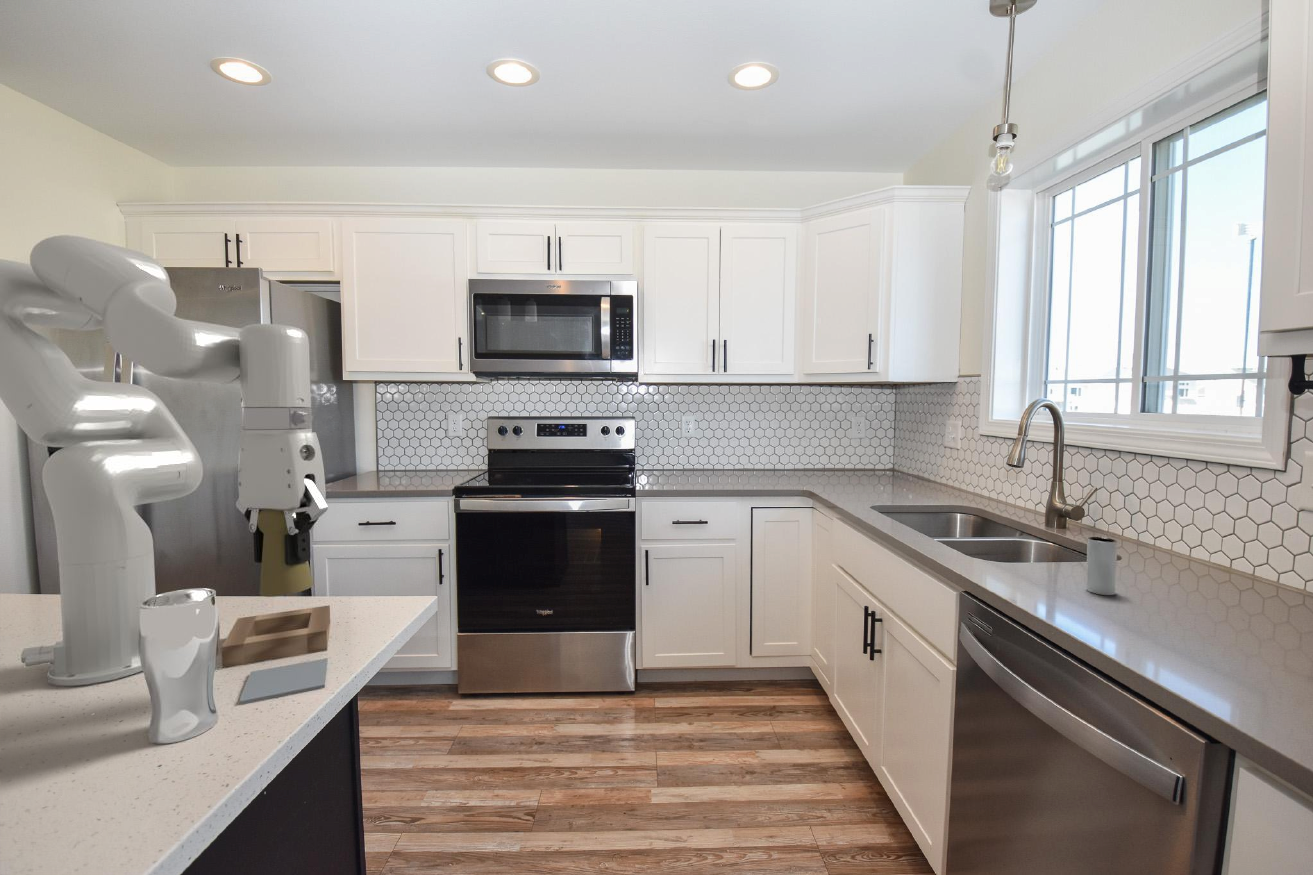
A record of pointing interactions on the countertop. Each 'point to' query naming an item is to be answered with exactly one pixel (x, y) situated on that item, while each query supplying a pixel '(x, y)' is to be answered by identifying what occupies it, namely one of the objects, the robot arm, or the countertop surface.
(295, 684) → the rubber mat
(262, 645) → the wooden square frame
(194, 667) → the beer glass
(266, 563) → the olive rounded peg
